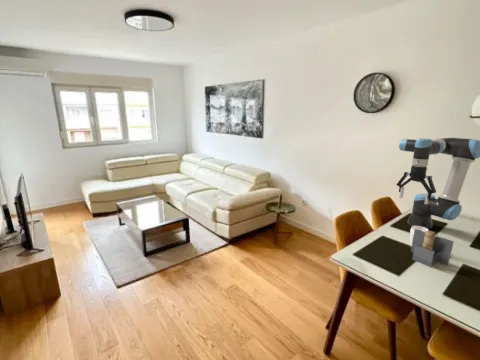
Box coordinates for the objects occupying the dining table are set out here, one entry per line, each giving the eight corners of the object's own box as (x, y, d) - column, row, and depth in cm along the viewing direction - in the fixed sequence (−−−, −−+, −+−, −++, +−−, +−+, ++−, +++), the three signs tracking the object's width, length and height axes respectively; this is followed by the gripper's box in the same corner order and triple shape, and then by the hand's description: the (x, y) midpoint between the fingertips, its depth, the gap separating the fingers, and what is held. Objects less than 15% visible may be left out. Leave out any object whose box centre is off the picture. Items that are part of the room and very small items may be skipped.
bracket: (411, 250, 155) (416, 229, 152) (448, 264, 141) (453, 241, 137) (403, 255, 149) (407, 233, 146) (440, 271, 135) (446, 246, 131)
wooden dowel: (423, 252, 147) (427, 230, 143) (432, 256, 143) (436, 233, 140) (419, 255, 144) (424, 232, 141) (428, 258, 141) (433, 235, 137)
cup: (428, 251, 155) (432, 232, 152) (411, 249, 156) (414, 231, 153) (421, 243, 163) (424, 226, 160) (405, 242, 165) (408, 224, 162)
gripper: (393, 163, 158) (388, 196, 163) (442, 170, 138) (434, 208, 143) (399, 161, 162) (394, 194, 167) (447, 168, 142) (440, 205, 148)
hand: (413, 200), depth 156 cm, fingers open, 13 cm apart
